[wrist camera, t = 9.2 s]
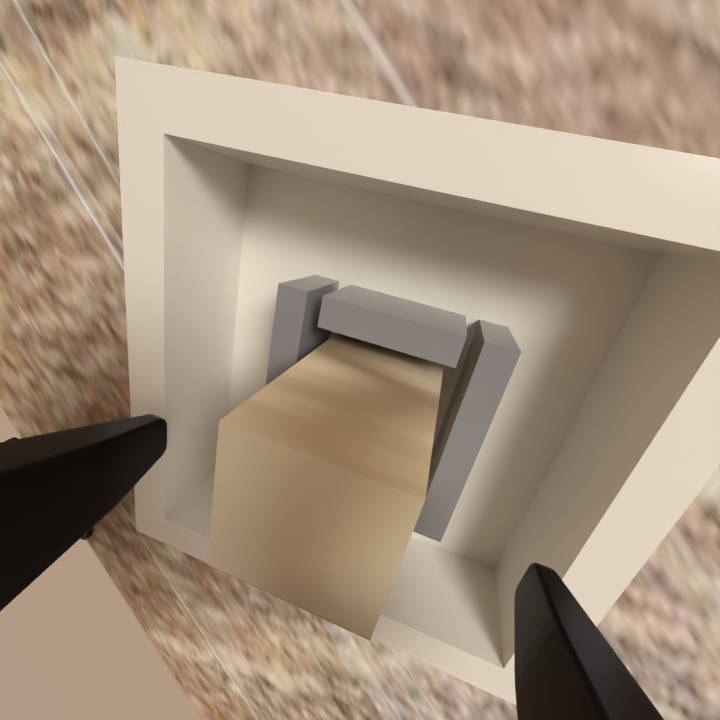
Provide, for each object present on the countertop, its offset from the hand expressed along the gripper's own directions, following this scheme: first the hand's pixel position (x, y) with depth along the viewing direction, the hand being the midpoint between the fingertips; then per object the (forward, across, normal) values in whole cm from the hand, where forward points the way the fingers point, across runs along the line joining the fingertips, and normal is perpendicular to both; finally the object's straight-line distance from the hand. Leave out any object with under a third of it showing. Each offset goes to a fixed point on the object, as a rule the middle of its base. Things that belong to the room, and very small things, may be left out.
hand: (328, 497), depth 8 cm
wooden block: (+7, 0, 0) cm, 7 cm away
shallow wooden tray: (+8, 0, 0) cm, 8 cm away
